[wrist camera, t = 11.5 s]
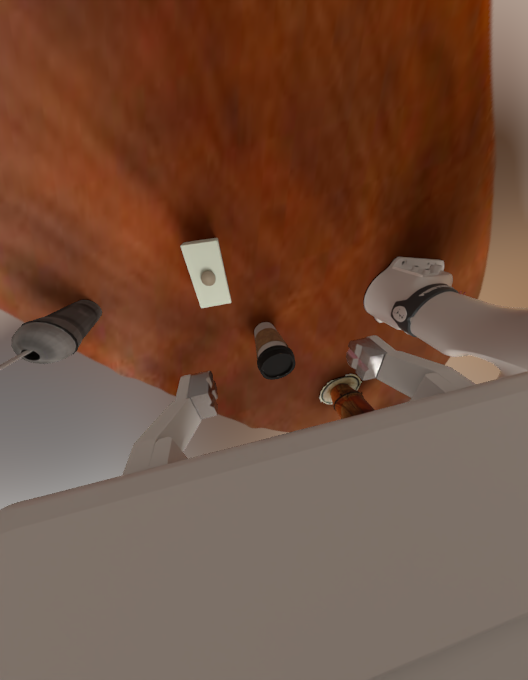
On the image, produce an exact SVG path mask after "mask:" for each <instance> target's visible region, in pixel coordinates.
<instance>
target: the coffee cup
mask: <svg viewBox="0 0 528 680" xmlns="http://www.w3.org/2000/svg"><path fill="white" fill-rule="evenodd" d="M254 335H255V343H256V352H257V359H258V360H257V365H258V368H259V370H260V372H261V374H262V375H263V377H264V378H266V379H271V380H272V379H279V378H282V377H284V376H286V375H288V374H289V373H290V372H291V371H292V370H293V369H294V367H295V358H294V354H293V352H292V350H291V349H290V348H288V346H287V344H286V343H285V341H284V340H283V339H282V337H281V336H280V334H279V333H278V332H277V330H276V329H275V327H274V326H273V325H272V324H271V323H269V322H263V323H260V324H259V325H257V326H256V328H255V330H254Z"/></svg>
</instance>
